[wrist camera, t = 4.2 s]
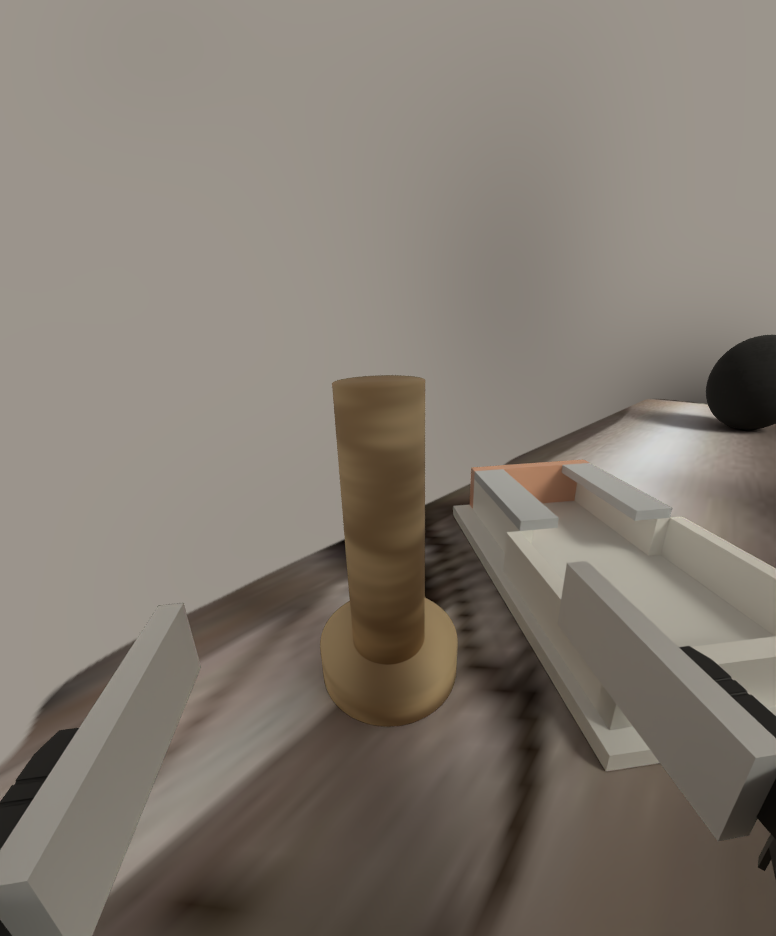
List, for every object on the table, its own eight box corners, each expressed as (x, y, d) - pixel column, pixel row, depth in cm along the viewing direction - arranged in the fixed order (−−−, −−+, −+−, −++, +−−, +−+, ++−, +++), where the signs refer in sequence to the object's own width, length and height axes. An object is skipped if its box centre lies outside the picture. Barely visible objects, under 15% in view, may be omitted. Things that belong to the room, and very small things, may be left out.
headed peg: (438, 609, 26) (442, 368, 20) (474, 715, 19) (497, 390, 13) (325, 621, 25) (298, 374, 20) (319, 736, 18) (274, 402, 13)
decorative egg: (683, 426, 67) (705, 336, 61) (714, 416, 73) (737, 333, 67) (777, 443, 57) (814, 336, 51) (805, 430, 63) (840, 333, 57)
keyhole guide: (591, 503, 40) (599, 458, 38) (906, 724, 18) (960, 641, 16) (453, 514, 39) (454, 468, 37) (605, 771, 16) (627, 685, 15)
